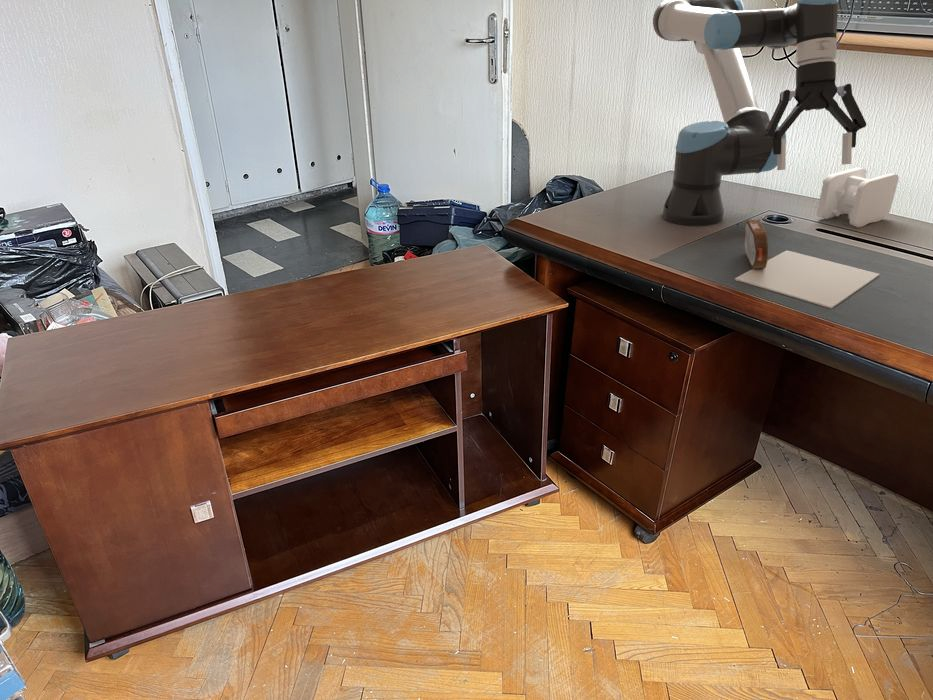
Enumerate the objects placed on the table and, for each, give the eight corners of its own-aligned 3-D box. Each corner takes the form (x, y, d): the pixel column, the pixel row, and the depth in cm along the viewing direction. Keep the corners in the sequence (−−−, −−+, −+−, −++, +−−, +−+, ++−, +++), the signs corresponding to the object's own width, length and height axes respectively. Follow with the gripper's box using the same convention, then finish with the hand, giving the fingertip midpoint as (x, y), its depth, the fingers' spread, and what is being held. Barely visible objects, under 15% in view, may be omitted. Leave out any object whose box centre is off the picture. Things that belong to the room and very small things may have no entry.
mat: (734, 279, 144) (734, 278, 143) (786, 251, 156) (786, 250, 156) (831, 308, 130) (831, 307, 130) (879, 275, 142) (879, 274, 142)
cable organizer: (851, 231, 165) (863, 184, 160) (812, 220, 173) (822, 174, 168) (889, 219, 171) (901, 173, 166) (849, 208, 180) (860, 164, 174)
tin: (766, 274, 144) (772, 235, 140) (750, 274, 145) (755, 235, 141) (755, 250, 157) (759, 214, 153) (740, 250, 158) (744, 214, 154)
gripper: (760, 66, 142) (760, 171, 146) (887, 53, 139) (882, 160, 144) (749, 72, 149) (748, 172, 153) (869, 60, 146) (865, 162, 151)
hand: (813, 167), depth 148 cm, fingers open, 13 cm apart
